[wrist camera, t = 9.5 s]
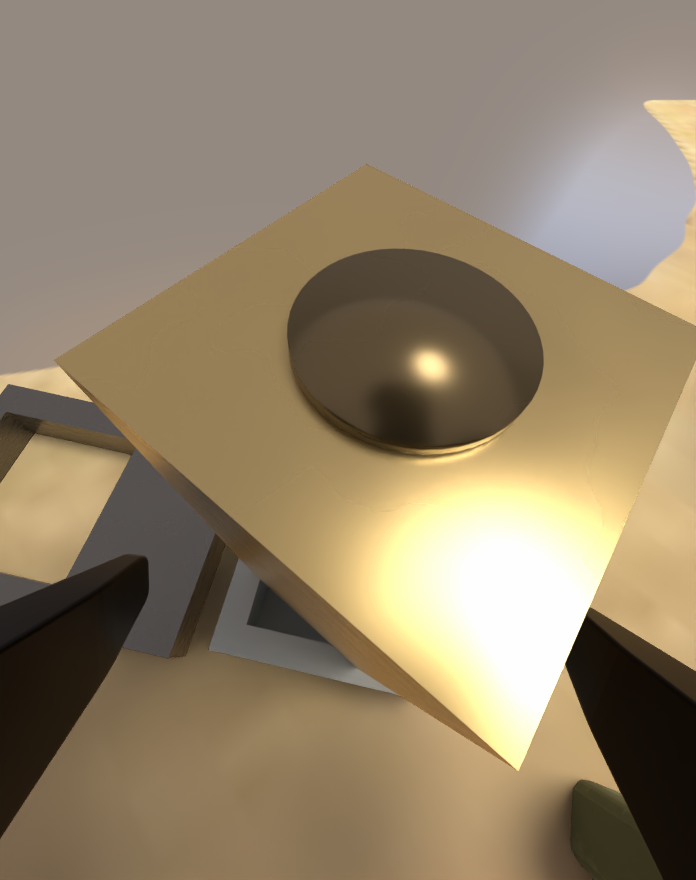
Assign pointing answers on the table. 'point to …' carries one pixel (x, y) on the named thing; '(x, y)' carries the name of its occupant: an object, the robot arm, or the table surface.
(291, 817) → the table surface
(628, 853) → the handheld radio
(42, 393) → the grey holder tray
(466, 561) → the brass tower with button
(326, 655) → the parts tray
